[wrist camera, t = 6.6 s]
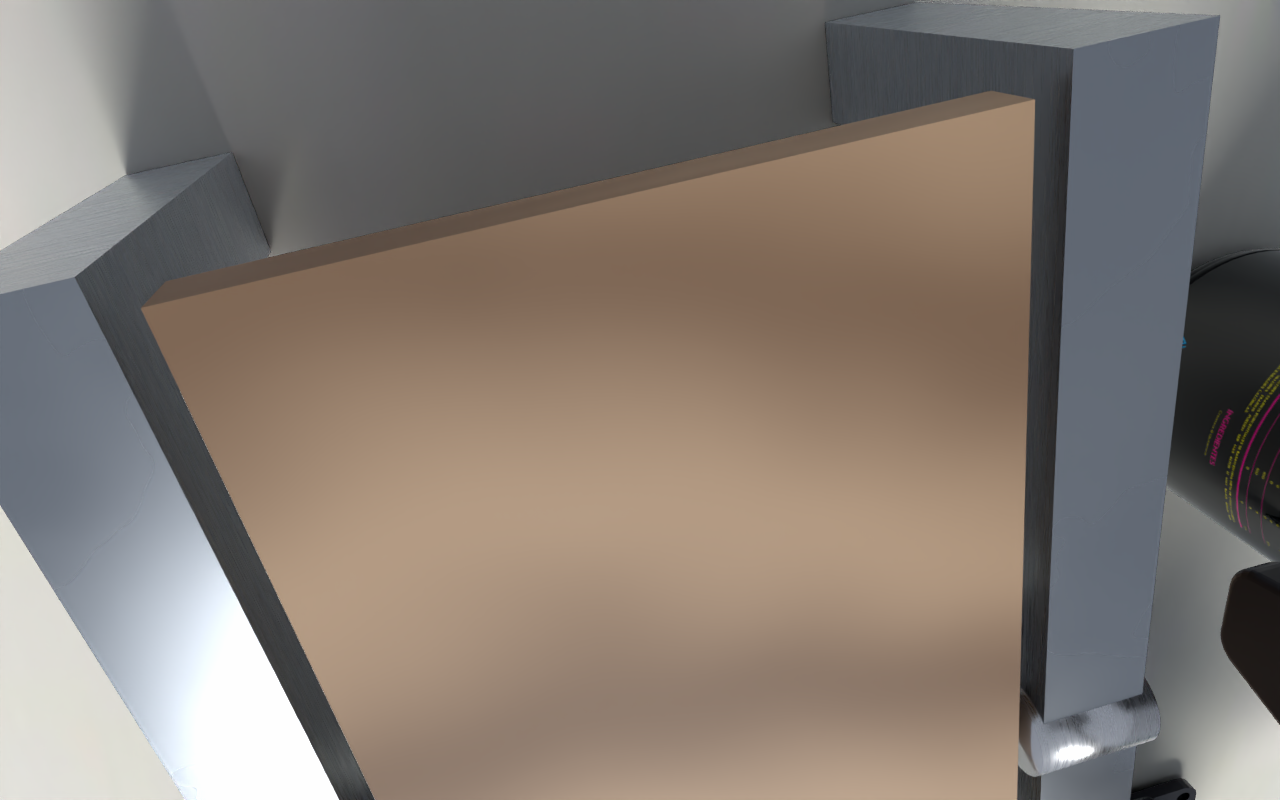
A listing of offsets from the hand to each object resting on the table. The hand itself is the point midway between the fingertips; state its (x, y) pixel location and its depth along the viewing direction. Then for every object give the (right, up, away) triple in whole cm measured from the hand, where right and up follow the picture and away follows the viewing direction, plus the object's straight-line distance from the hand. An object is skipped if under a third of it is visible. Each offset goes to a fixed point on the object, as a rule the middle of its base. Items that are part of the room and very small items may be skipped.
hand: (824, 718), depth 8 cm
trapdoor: (-2, 0, +11) cm, 11 cm away
